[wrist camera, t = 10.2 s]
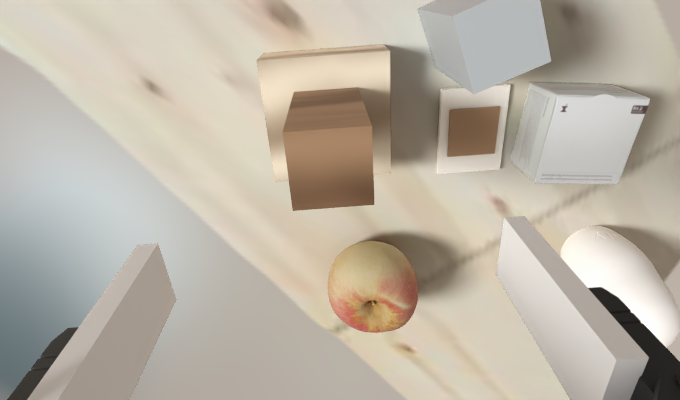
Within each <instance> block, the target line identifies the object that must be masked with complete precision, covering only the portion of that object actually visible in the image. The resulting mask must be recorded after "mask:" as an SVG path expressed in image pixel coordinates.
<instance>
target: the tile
mask: <svg viewBox="0 0 680 400" xmlns="http://www.w3.org/2000/svg"><path fill="white" fill-rule="evenodd" d="M510 86H511V85H510V84H497V85H495V86H493V87H490V88H488V89H486V90H483V91H481V92H479V93H476V94H472V93H471V92H470V91H468V90H467V89H465V88H464V87H455V88H442V89H440V107H439V127H438V147H437V167H436V172H437V174H444V173H458V172H471V171H485V170H498V169H500V164H501V156H502V148H503V140H504V133H505V125H506V117H507V109H508V101H509V94H510Z"/></svg>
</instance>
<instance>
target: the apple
mask: <svg viewBox="0 0 680 400" xmlns="http://www.w3.org/2000/svg"><path fill="white" fill-rule="evenodd" d="M328 296H329V301H330V304H331V306H332V308H333V310H334V312H335V313H336V315H337V316H338V317H339V318H340V319H341V320H342V321H343V322H345V323H346V324H348V325H349V326H351V327H353V328H355V329H357V330H360V331H363V332H375V333H378V332H386V331H392V330H395V329H398V328H400V327H402V326H403V325H405V324H406V323H407V322H408V320H409V319H410V318H411V316H412V315H413V313H414V310H415V308H416V305H417V300H418V284H417V280H416V276H415V273H414V270H413V268H412V266H411V264H410V262H409V261H408V259H407V258H406V256H405V255H404V254H403V253H402V252H401V251H400V250H399V249H397V248H396V247H394V246H392V245H390V244H387V243H384V242H378V241H364V242H360V243H357V244H354V245H352V246H350V247H348V248H346V249H345V250H344V251H343V252H342V253H340V254H339V255H338V257H337V258H336V259H335V261H334V263H333V265H332V267H331V270H330V273H329V279H328Z"/></svg>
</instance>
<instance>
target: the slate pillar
mask: <svg viewBox="0 0 680 400" xmlns="http://www.w3.org/2000/svg"><path fill="white" fill-rule="evenodd" d="M417 10H418V13H419V17H420V20H421V23H422V26H423V29H424V32H425V36H426V39H427V42H428V45H429V48H430V52H431V55H432V58H433V61H434V64H435V67H436V68H437V69H438V70H439V71H441V72H442V73H444V74H445V75H447V76H448V77H450V78H451V79H452V80H454V81H455V82H457V83H458V84H460V85H461V86H462V87H464V88H465V89H467V90H468V91H470V92H471V93H472V94H476V93H479V92H481V91H483V90H486V89H488V88H490V87H493V86H495V85H497V84H500V83H502V82H504V81H507V80H509V79H512V78H514V77H516V76H519V75H521V74H523V73H526V72H528V71H530V70H533V69H535V68H537V67H540V66H542V65H544V64H547V63H549V62H551V57H550V51H549V46H548V40H547V35H546V29H545V24H544V18H543V13H542V7H541V2H540V0H435V1H433V2H431V3H429V4H427V5H425V6H423V7H420V8H418V9H417Z"/></svg>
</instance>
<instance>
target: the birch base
mask: <svg viewBox="0 0 680 400" xmlns="http://www.w3.org/2000/svg"><path fill="white" fill-rule="evenodd" d="M257 67H258V73H259V80H260V87H261V93H262V100H263V106H264V113H265V120H266V126H267V133H268V139H269V146H270V152H271V159H272V166H273V172H274V179H275V182H281V181H289V178H288V170H287V163H286V155H285V148H284V141H283V133H282V132H283V128H284V125H285V121H286V118H287V114H288V111H289V107H290V103H291V100H292V96H293V93H294V92H300V91H313V90H327V89H341V88H354V87H358V88H359V91H360V94H361V97H362V99H363V102H364V105H365V108H366V110H367V113H368V116H369V119H370V122H371V124H372V144H373V175H376V174H390V173H391V103H390V50H389V49H388V48H386V47H385V46H384V45H383V44H382V45H369V46H355V47H341V48H327V49H313V50H300V51H286V52H272V53H263V54H262V55H261V56H260V57H259V58H258V60H257Z"/></svg>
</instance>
